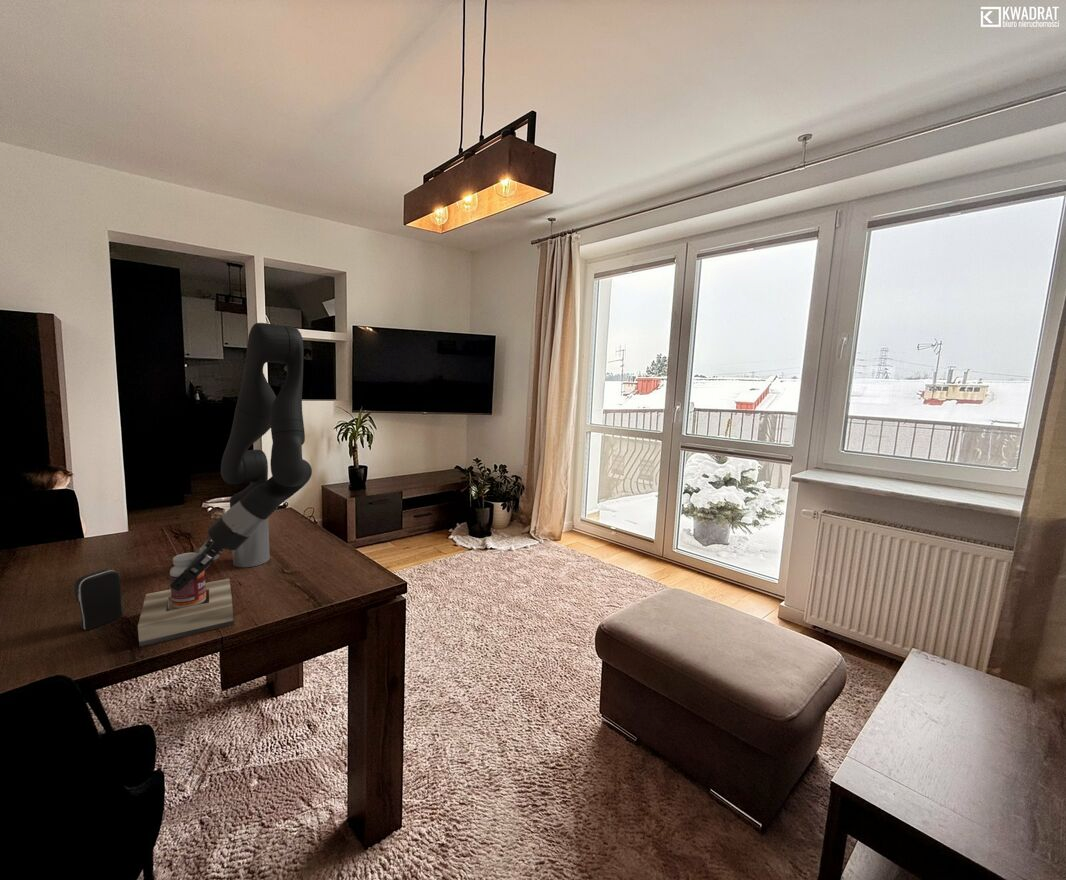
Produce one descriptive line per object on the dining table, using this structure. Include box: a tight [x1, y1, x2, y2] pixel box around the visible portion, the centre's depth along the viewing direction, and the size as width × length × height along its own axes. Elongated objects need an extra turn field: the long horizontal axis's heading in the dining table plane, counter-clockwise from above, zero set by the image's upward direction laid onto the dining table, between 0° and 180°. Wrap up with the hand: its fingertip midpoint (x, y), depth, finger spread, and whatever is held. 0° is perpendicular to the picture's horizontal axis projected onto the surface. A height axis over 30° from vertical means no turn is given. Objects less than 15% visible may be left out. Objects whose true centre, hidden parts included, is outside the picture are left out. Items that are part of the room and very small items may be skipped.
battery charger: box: [74, 569, 124, 631], centre depth 100 cm, size 7×4×11 cm, turn 160°
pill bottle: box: [169, 552, 206, 609], centre depth 102 cm, size 6×6×11 cm
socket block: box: [137, 578, 234, 648], centre depth 103 cm, size 16×16×4 cm
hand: (178, 581), depth 102 cm, fingers closed on pill bottle, 6 cm apart
